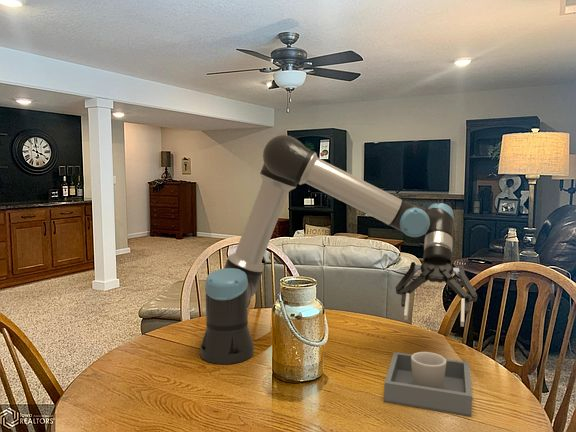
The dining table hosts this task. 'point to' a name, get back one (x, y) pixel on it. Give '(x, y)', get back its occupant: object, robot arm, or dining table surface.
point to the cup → (428, 369)
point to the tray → (447, 399)
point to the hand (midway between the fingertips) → (433, 321)
